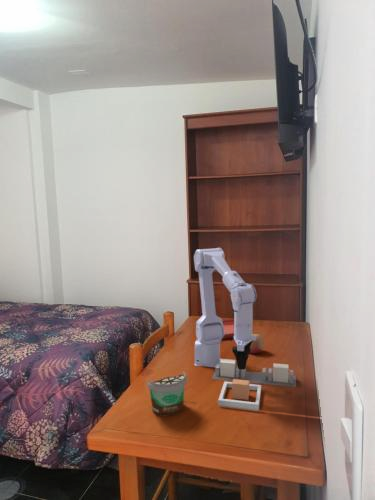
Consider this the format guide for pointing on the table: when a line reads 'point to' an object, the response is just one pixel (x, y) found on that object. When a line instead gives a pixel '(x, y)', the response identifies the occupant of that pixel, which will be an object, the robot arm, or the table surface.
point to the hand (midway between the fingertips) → (243, 363)
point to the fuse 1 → (227, 367)
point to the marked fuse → (240, 389)
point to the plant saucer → (228, 328)
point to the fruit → (256, 344)
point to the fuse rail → (256, 377)
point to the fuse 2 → (280, 372)
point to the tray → (239, 404)
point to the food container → (167, 395)
